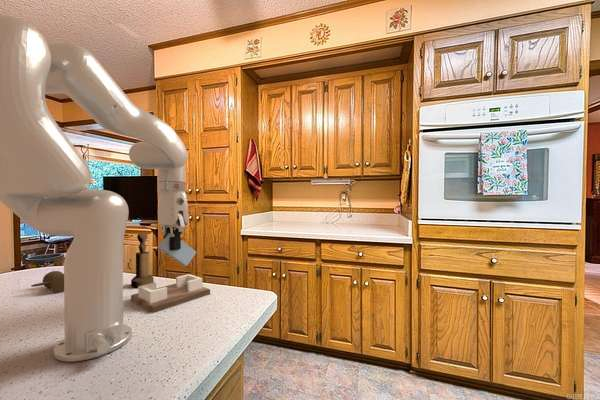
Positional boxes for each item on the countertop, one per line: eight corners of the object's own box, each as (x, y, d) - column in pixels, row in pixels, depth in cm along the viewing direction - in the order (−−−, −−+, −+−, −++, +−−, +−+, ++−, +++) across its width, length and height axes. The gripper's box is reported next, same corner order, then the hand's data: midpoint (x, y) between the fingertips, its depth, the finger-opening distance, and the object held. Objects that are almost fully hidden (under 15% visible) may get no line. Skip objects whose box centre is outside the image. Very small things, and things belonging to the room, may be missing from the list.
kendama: (112, 282, 96) (35, 298, 79) (100, 278, 101) (26, 293, 84) (112, 265, 96) (36, 278, 79) (100, 263, 101) (26, 274, 84)
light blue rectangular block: (187, 265, 83) (196, 252, 85) (162, 248, 77) (173, 234, 79) (181, 264, 84) (191, 251, 87) (157, 247, 78) (168, 233, 81)
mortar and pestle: (147, 280, 96) (147, 230, 96) (157, 284, 92) (157, 232, 92) (127, 285, 91) (127, 232, 90) (136, 289, 87) (136, 234, 87)
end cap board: (210, 294, 83) (210, 289, 83) (153, 312, 69) (153, 307, 69) (186, 285, 91) (186, 280, 91) (131, 300, 78) (131, 295, 78)
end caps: (202, 287, 84) (202, 278, 84) (150, 303, 72) (150, 292, 72) (189, 283, 89) (189, 274, 89) (138, 296, 77) (138, 286, 76)
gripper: (198, 188, 78) (198, 250, 79) (170, 188, 88) (171, 244, 88) (173, 187, 72) (173, 255, 73) (146, 188, 82) (146, 247, 82)
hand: (172, 248), depth 80 cm, fingers closed on light blue rectangular block, 2 cm apart
